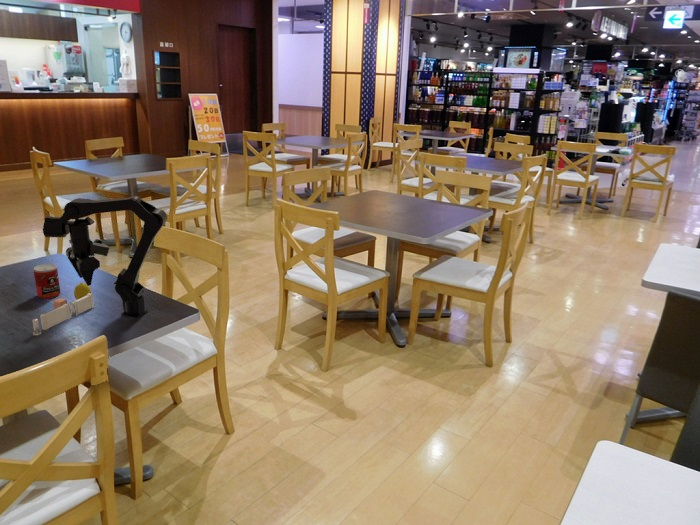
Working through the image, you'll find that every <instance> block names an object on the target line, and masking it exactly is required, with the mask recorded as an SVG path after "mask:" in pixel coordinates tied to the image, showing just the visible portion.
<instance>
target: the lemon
mask: <svg viewBox="0 0 700 525" xmlns="http://www.w3.org/2000/svg"><path fill="white" fill-rule="evenodd" d="M88 293H90V294H92V289H91V287H90V286H87V284H86V283H84V282H80V283H79V284H77V285H76V286H75V287H74V290H73V294H74V298H75V301H76V300H78V299H80V298H82V297H84V296H87V294H88Z"/></svg>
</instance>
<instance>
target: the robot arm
mask: <svg viewBox="0 0 700 525" xmlns="http://www.w3.org/2000/svg"><path fill="white" fill-rule="evenodd" d="M123 211H131V212H132V213H134V214H135V215H136V216H137V217H138V219H140V220H141V221H142V222H143V226H142V227H143V228H142V235H141V237H140V239H139V242H138V243H137V247H136V249H135V250H134V253H133V255H132V258H131V260H130V262H129V264H128V266H127V268H125V267H124V268H122V269H121V270H120V271H119V273H118V274H117V278H116V281H115V282H114V283H113V284H114V285H115V286H114V291H115V292H116V293H117V294H118V295H119V296H120V299H121V300H122V309H123V312H122V313H121V316H123V317H129V318H133V319H137V318H139V317H141V316H143V315H144V314H146V313H148V312H149V310H148V309H146V308H145V296H143V294H144V291H145V289H146V288H145V286H143V285H142V284H141V283H140V282H139V280H140V279H139V278H140V272H141V269H142V267H143V264H144V262H145V259H146V258H147V255H148V253H149V251H150V249H151V248H152V245H153V242H154V240H155V238H156V236H157V234H159V232H160V231H161V229H162V228H163V227H164V225H165V224H166V222H167V220H168V215H167V212H165V211H164V210H163V209H162V208H157V207H156V206H155V205H153V204H151V203H149V202H147V201H145V200H144V199H142V198H140V197H139V196H138V195H136V196H135V195H134V196H130V197H120V198H118V197H117V198H111V199H99V200H98V199H97V200H96V199H90V198H81V197H79V198H74V199H73V200H70V201H69V202H67V203H65V205H64V207H63V213H62V215H60V216H46V217H44V222H43V226H42V233H43V236H44V237H45V238H66V237H67V235H69V238H70V239H69V240H68V241H69V243H70V246H69V247H67V248H66V250H65V255H66V257H67V259H68V261H69V262H70V264H71V266H72V267H73V268H74V271H75V273H77V275H78V276H79V278H82V279H83V280H84V282H85V284H87V286H89V287H90V286H92V281H93V276H94V272H95V271H96V270H98V269H99V268H100V267H101V263H100V262H101V261H100V260H99V259H98V258H96V257H94V256H95V255H100V256H103V257H108V255H109V251H110V246H109V245H107V244H105V243H103V240H101V239H98V238H96V239H94V240H92V239H91V238H90V232H89V231H90V230H89V226H92V225H93V224H95V222H96V221H95V220H93V219H92V218H91V217H90V216H92V215H95V214H101V213H113V212H115V213H116V212H123Z"/></svg>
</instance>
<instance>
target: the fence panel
mask: <svg viewBox="0 0 700 525" xmlns="http://www.w3.org/2000/svg"><path fill="white" fill-rule="evenodd" d="M93 295H94V294H93V293H91V294H90V293H88V294H87V296H84V297H82V298H80V299H78V300H76V299H75V300H74V301H73V302H75V308H76V315H77V314H78V315H79V314H81V313H84V312H86V311H88V310H90V309H94V308H95V306H94V305H95V304H94V296H93Z"/></svg>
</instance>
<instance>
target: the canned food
mask: <svg viewBox="0 0 700 525" xmlns="http://www.w3.org/2000/svg"><path fill="white" fill-rule="evenodd" d="M33 275H34V277H33V278H34V282H35V283H34V284H35V288H36V294H37V297H38V298H40V299H42V300H47V299H53V298H56V297H58V296H60V295H61V287H60V286H61V285H60V278H59V272H58V266H57V265H56V264H53V263H43V264H39V265H36V266H34V267H33Z"/></svg>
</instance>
